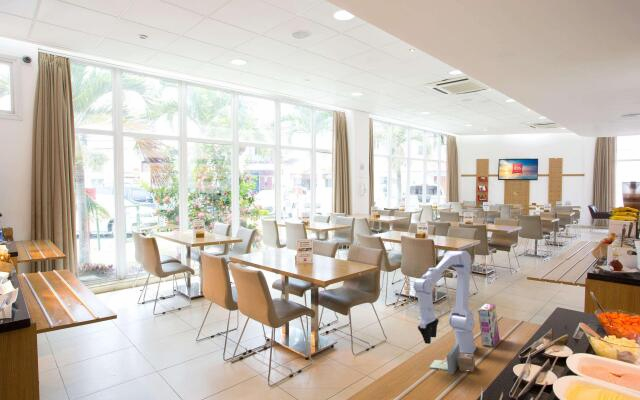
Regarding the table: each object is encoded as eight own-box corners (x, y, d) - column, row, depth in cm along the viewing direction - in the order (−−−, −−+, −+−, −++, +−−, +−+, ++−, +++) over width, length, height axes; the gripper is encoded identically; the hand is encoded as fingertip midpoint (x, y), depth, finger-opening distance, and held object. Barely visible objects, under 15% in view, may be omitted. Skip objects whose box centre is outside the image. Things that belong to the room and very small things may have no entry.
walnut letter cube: (462, 365, 152) (460, 352, 152) (475, 367, 149) (473, 353, 149) (459, 370, 147) (457, 357, 148) (472, 372, 145) (471, 358, 145)
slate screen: (457, 360, 157) (455, 343, 157) (461, 360, 156) (458, 343, 157) (448, 374, 145) (446, 356, 146) (452, 374, 145) (450, 356, 145)
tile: (435, 361, 159) (434, 359, 159) (453, 363, 155) (452, 361, 155) (429, 368, 153) (429, 366, 153) (448, 370, 149) (448, 368, 149)
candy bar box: (493, 347, 166) (488, 310, 167) (482, 345, 169) (477, 309, 170) (500, 339, 175) (495, 303, 175) (489, 337, 178) (484, 303, 179)
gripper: (422, 302, 165) (426, 333, 164) (411, 311, 153) (415, 345, 152) (438, 303, 161) (442, 334, 160) (428, 312, 149) (432, 347, 148)
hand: (430, 340), depth 156 cm, fingers open, 7 cm apart
